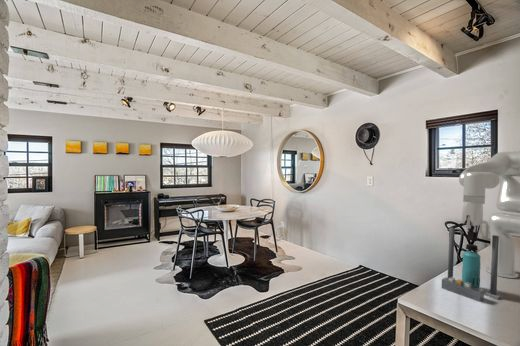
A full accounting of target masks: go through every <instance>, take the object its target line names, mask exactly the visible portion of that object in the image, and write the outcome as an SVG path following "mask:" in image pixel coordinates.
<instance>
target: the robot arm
mask: <svg viewBox="0 0 520 346" xmlns="http://www.w3.org/2000/svg"><path fill="white" fill-rule="evenodd" d="M515 177H520V151H517V150H516V151H502V152H501V151H499V152H497V153H495V154H494V155H493V156H492V157H490V158H489V159H488V160H487V161H484V162H481V163H478V164H474V165H471V166H468V167H467V168H466V169H463V171H462V172H461V173H460V174H459V177H458V182H459V184H460V185H461V186H462V187H463V196H462V197H463V198H462V202H463V207H462V212H461V224H462V225H465V228H466V230H467V237H466V238H467V241H472V242H477V241H478V235H479V234H478V233H479V227H480V225H482V224H483V220H484V219H483V218H484V206H483V205H485V204H486V202H485V201H486V189H490V190H491V189H494V188H496V187H498V185H499V189H498V193H497V199H496V208H497V209H498V210H499V211H501V212H495V213H492V214H491V215H490V216H489V218H488V224H489V228H490V248H489V251H490V252H489V266H486V267H485V271H486V272H488V274H491V260H492V235H496V236H499V245H498V269H497V277H501V278H506V279H507V278H508V279H517V278H519V274H518V273H517V272H516V271H515V270H516V269H515V268H516V267H515V266H516V265H515V264H516V244H517V243H516V239H515V238H514V236H513V235H512V234H515V235H520V215H519V214H520V181H518V180H517V179H516V178H515ZM506 212H507V213H506ZM514 213H515V214H514Z"/></svg>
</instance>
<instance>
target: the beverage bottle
mask: <svg viewBox="0 0 520 346" xmlns="http://www.w3.org/2000/svg"><path fill="white" fill-rule="evenodd" d="M465 249H466V250H467V251H464V252H463V253H462V268H461V273H462V274H461V280H462V281H463V283H466V282H469V283H471V286H474V287H477V288H480V286H481V265H482V264H481V254H479V253H478V245H475V244H471V243H467V244H466V245H465Z"/></svg>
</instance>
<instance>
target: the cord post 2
mask: <svg viewBox="0 0 520 346" xmlns="http://www.w3.org/2000/svg"><path fill="white" fill-rule="evenodd" d="M498 245H499V236H496V235H492V260H491V273H490V285H489V286H490V289H489V291H487V292H485V293H484V296H486V297H488V296H489V297H488V298H490V299H491V298H492V299H494V300H499V299H501V298H502V294H500V293H497V290H498V289H497V288H498V276H497V269H498Z"/></svg>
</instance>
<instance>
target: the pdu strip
mask: <svg viewBox="0 0 520 346" xmlns="http://www.w3.org/2000/svg"><path fill="white" fill-rule="evenodd" d="M455 280H456V281H455ZM441 289H442V290H446V291H448V292H452V293H454V294H457V295H460V296H463V297H466V298H468V299H471V300H473V301H476V302H480V301H481V302H482V301H484V300H485V289H482V288H480V287H479V288H477V287H474V286H471V283H469V282H466V283H463V281H462V279H460V278H459V279H456V278H455V277H454V276H453V277H450V278H447V277H443V278H441ZM481 302H480V303H481Z"/></svg>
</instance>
